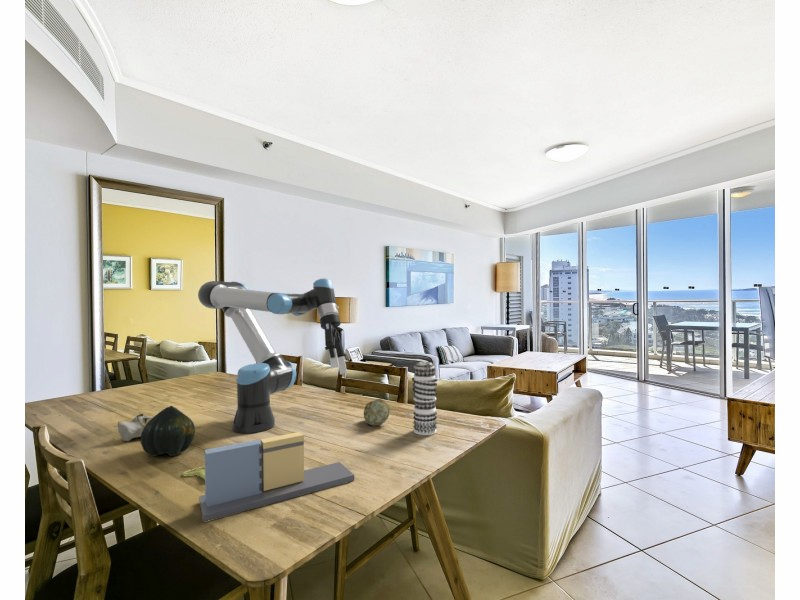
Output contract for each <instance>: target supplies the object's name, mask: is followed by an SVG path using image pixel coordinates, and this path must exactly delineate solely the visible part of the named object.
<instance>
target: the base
mask: <svg viewBox="0 0 800 600" xmlns="http://www.w3.org/2000/svg"><path fill="white" fill-rule="evenodd" d="M351 482H355V474H354V473H353V472H352V471H351V470H350V469H348V468H347V467H346V466H345V465H344V464H342V463H341V462H340V461H337V462H333V463H329V464H324V465H321V466H317V467H312V468H308V469H304V481H301V482H297V483H293V484H289V485H285V486H281V487H278V488H274V489H270V490H266V491H264V490H263V489H262V493H259V494H255V495H252V496H248V497H244V498H240V499H236V500H232V501H229V502H225V503H221V504H217V505H213V506H209V507H207V506H206V502H205V494H203V495H199V496H198V498H199V499H198V503H199V502H200V504H199V508H200V507H201V509H200V513H202V514H201V517H202V518H203V519H202V522H204V523H206V522H205V521H207V522H209V521H208V520H211V521H213V520H212V519H215V520H217V519H216V518H218V519H221V518H220V517H222V518H225V517H228V515H229V516H231V515H232V514H233V515H236V514H239V512H240V513H243V512H246V510H247V511H249V510H250V509H251V510H254V509H257V507H258V508H261V507H264V505H265V506H269V505H272V504H275V502H276V503H279V502H283V501H286V500H290V499H294V498H298V497H301V496H304V495H308V494H311V493H314V492H317V491H318V492H319V491H322V490H325V489H329V488H332V487H336V486H340V485H344V484H347V483H351ZM268 504H269V505H268ZM253 508H254V509H253ZM251 510H250V511H251ZM242 511H243V512H242ZM235 513H236V514H235ZM224 516H225V517H224Z"/></svg>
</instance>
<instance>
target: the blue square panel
mask: <svg viewBox="0 0 800 600" xmlns="http://www.w3.org/2000/svg"><path fill="white" fill-rule="evenodd" d="M261 453H262V446H261V440H259V439H256V440H250V441H244V442H239V443H233V444H229V445H224V446H218V447H212V448H209V449H204V466H205V480H204V487H205V489H204V492H205V493H204V495H205V502H206V506H207V507H209V506H213V505H217V504H221V503H225V502H229V501H232V500H236V499H240V498H244V497H248V496H252V495H255V494H259V493H262V470H261V466H262V458H261Z"/></svg>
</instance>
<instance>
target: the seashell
mask: <svg viewBox="0 0 800 600" xmlns="http://www.w3.org/2000/svg"><path fill="white" fill-rule="evenodd" d="M390 411H391V409H390V406H389V404H388V402H386V401H385V400H384V399H380V398H377V399H374V400H371V401H369V402H368V403H367V404H366V405H365V407H364V409H363V418H364V421H365V422H366V423H367V424H368V425H370V426H380V425H382V424H384V423H386V421H387V420H388V419H389V417H390Z"/></svg>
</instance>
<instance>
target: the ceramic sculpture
mask: <svg viewBox="0 0 800 600" xmlns="http://www.w3.org/2000/svg"><path fill="white" fill-rule="evenodd" d="M153 417H154V416H151V415H146V416H145V415H144V414H143V413H141V414H138V415H136V416H135V417H133V419H132V420H131V421H117V431H118V433H119V435H120V437H121V439H122V441H123V442H130V441H131V440H132V439H135V438H138V437H141V434H142V431H143V429H144V427H145V426H146V424H147V423H148V422H149V421H150V420H151V419H152V418H153Z"/></svg>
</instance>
